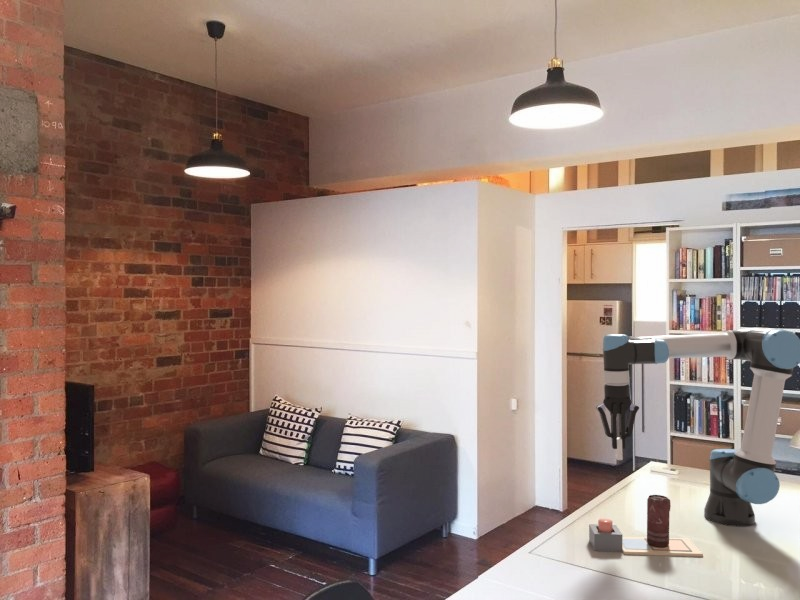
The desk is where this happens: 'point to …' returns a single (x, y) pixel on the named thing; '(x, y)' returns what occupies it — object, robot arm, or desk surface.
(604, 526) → the button
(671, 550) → the board
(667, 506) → the can
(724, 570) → the desk surface
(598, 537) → the button housing
